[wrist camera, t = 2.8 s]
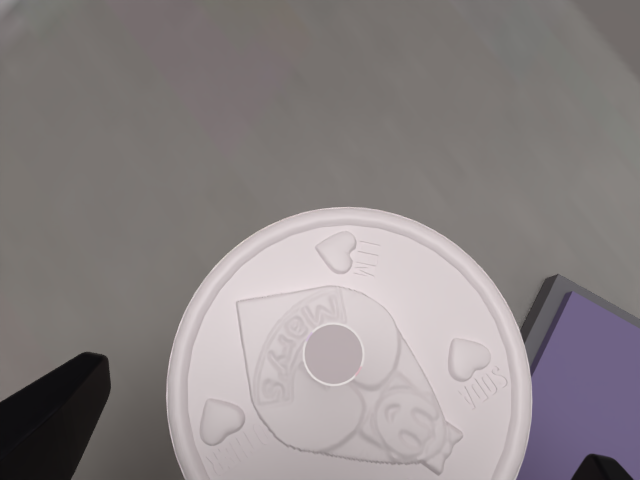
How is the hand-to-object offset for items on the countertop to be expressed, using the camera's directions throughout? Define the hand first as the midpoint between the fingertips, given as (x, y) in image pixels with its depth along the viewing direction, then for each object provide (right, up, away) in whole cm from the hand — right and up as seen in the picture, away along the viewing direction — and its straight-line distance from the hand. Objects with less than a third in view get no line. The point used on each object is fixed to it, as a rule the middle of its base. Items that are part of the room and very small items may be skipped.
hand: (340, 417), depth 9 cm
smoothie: (0, -2, +9) cm, 9 cm away
